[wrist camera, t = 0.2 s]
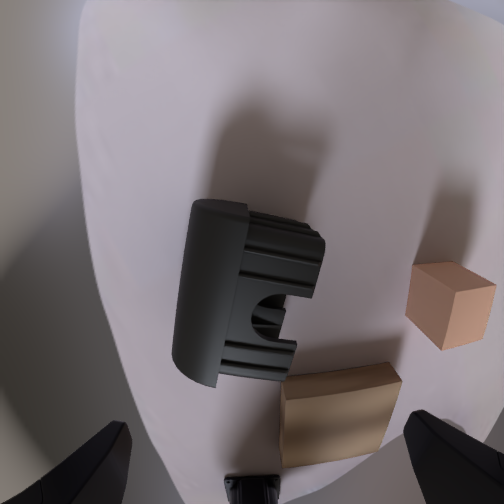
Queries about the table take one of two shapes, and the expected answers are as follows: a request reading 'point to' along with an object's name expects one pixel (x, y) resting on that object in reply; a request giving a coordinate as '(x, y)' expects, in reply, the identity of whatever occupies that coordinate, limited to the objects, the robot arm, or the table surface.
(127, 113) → the table surface
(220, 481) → the table surface
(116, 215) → the table surface
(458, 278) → the terracotta block
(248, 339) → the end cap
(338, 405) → the tan block
